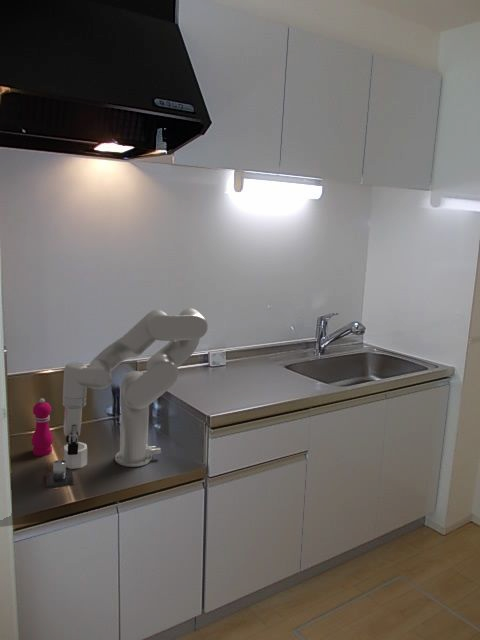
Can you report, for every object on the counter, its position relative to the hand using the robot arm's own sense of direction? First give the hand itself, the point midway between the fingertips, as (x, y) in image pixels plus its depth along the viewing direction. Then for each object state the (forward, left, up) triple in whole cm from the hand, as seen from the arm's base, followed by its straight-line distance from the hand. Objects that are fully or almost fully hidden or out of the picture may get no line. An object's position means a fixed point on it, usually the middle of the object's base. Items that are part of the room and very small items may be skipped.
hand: (71, 448), depth 186 cm
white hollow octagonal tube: (-1, 0, -6) cm, 6 cm away
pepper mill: (+9, -11, -6) cm, 16 cm away
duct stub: (+4, +11, -6) cm, 13 cm away
